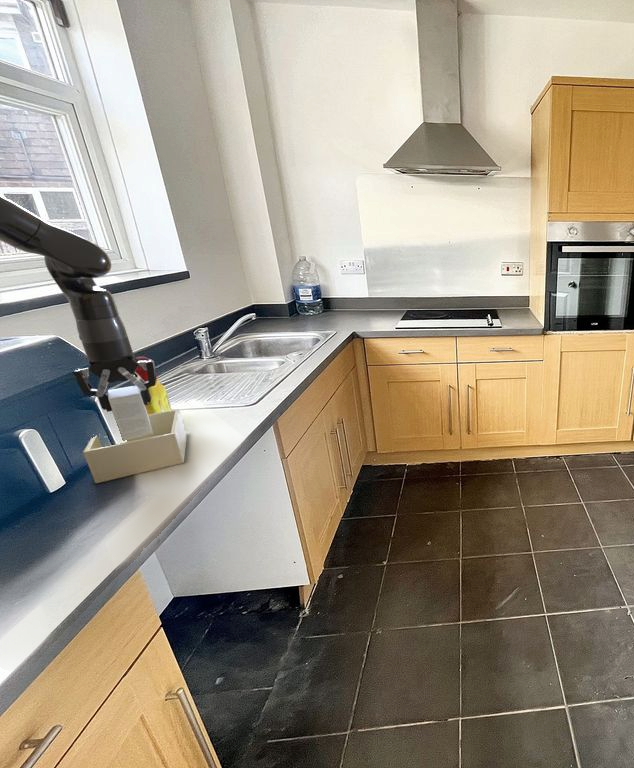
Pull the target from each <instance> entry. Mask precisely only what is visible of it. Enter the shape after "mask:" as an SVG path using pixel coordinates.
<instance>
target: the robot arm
mask: <svg viewBox="0 0 634 768" xmlns="http://www.w3.org/2000/svg"><path fill="white" fill-rule="evenodd" d="M0 241H1V242H3V243H4V244H7V245H8V246H11V247H13V248H15V249H17V250H18V251H19V250H20V251H22V252H25V253H29V254H34V255H39V256H43V257H44V259H43V260H44V265H45V267H46V269H47V271H48V273H49V275H50V276H51V278H52V279H53V281H54V282H55V284H56V285H57V286H58V288H59V289H60V291H61V292H62V293H63V295H64V296H65V297H66V299H67V300H68V302H69V306H70V309H71V312H72V314H73V317H74V320H75V325H76V330H77V334H78V338H79V340H80V342H81V344H82V347H83V349H84V352H85V355H86V357H87V361H88V363H89V364H88V367H85V368H77V369H78V370H76V369H74V370H73V372H72V373H73V374H74V375H75V376H76V378H77V382H78V383H77V382H76V383H77V386H78V387H79V388H80V390H81V392H82V394H83V395H84V396H85V397H96V398H97V399H98V402H99V404H100V407H101V409H102V410H103V411H106V412H107V413H108V412H112V409H111V406H110V403H109V401H108V393H107V389H108V385H109V383H110V384H112V383H116V382H126V381H129V382H130V383H131V384H132V385H134V386H137V387H138V388H139V389H141V390H140V393H141V396H142V399H143V403H144V405H149V402H151V395H150V392H149V388H150V387H152V386H155V384H156V376H157V372H156V365H155V361H154V360H153V359H150V360H148V361H138V360H137V359H136V358H137V357H135V354H134V351H133V348H132V345H131V342H130V339H129V336H128V333H127V330H126V327H125V324H124V322H123V320H122V319H121V316H120V312H119V310H118V307H117V304H116V301H115V298H114V296H113V293H111V291H109V290H107V289H104V288H101V287H100V286H99V285H97V283H96V281H95V280H94V279H97V278H101V277H104V276H106V275H107V274H108V273H110V272H111V269H112V261H111V258H110V256H109V255H108V253H106V251H105V250H104V249H103V248H101V247H100V246H99V245H97V244H95V242H92V241H90V240H88V239H86V238H84V237H82V236H80V235H77V234H75V233H73V232H71V231H69V230H66V229H64V228H61V227H59V226H56V225H53V224H51V223H50V222H47V221H46V220H44V219H42V218H41V217H39V216H37V215H36V214H34V213H32V212H30V211H29V210H27V209H26V208H23V207H22V206H20V205H18V204H17V203H15V202H13V201H12V200H10V199H7V198H6V197H3V196H2V195H0ZM138 366H141V367H142V368H143V369H144V370H147V374H148V381H147V382H145V381H144V380H142V379H141V377H140V376H139V375H138V374H137V373H136V372H135V371H136V369H137V368H138ZM89 373H90V374H92V375H94V376H96V377H97V378H98V379H99V382H98V385H97V386H98V387H97V388H94V387H93V386H92V384H91V382H90V381H89V379H88V378H89V376H90V374H89Z"/></svg>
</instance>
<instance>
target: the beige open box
mask: <svg viewBox="0 0 634 768" xmlns="http://www.w3.org/2000/svg"><path fill="white" fill-rule="evenodd" d="M148 417H149V420H150V424H151V428H152V431H153V434H150V435H146V436H142V437H137V438H133V439H129V440H127V442H125V443H120V444H115V445H110V446H105V447H102V445H101V443H100V440H99V438H98V436H97V435H96V436H95V437H93V438H92V437H91V438H90V440H89V441H88V443H87V445H86V447H85V448H84V450H83V451H82V452H83V456H84V458H85V461H86V463H87V466H88V468H89V471H90V473H91V475H92V478H93V481H94V483H95V484H99V483H104V482H108V481H113V480H116V479H120V478H125V477H129V476H133V475H137V474H142V473H145V472H150V471H154V470H159V469H162V468H166V467H171V466H175V465H179V464H183V463H184V462H185V455H186V448H187V447H186V445H187V439H188V438H187V437H188V434H187V431H186V427H185V423H184V421H183V417H182V414H181V410H180V408H177V409H171V411H166V412H160V413H155V414H149V415H148Z"/></svg>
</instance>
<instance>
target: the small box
mask: <svg viewBox="0 0 634 768" xmlns="http://www.w3.org/2000/svg"><path fill="white" fill-rule="evenodd" d="M107 394H108V401H109V403H110V406H111V409H112V411H111V413H112V414H113V417H114V421H116V423H117V426H118V428H119V431H120V434H121V437H122V440H123V441H125V440H129V439H133V438H137V437H142V436H146V435H150V434H153V431H152V428H151V424H150V420H149V417H148V414H147V411H146V407H145V405H144V403H143V399H142V396H141V393H140V389H139V388H138V387H137V386H136V385H130V386H125V387H117V388H112V389H108V390H107Z"/></svg>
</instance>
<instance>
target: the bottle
mask: <svg viewBox="0 0 634 768" xmlns="http://www.w3.org/2000/svg"><path fill="white" fill-rule="evenodd" d="M135 358H136V359H137V360H138V361H148V360H151V359H150V358H148V357H147V356H137V357H135ZM135 372H136V373H137V374H138V375H139V376H140V377H141V379H142V380H144V381H145V382H147V381H148V374H147V370H144V369H143V368H142V367H141V366H138V368H137V369H136V371H135ZM140 390H141V389H140ZM149 392H150V395H151V402H149V405H145V407H146V411H147V414H148V415H149V414H155V413H160V412H166V411H171V410H172V407H171V406H172V405H171V403H170V399H169V395H168V392H167V389H166V387H165V386H164V385H163V384H162V383H161V382H160V381H159V378H158V376H157V375H156V384H155V386H152V387H150V388H149Z"/></svg>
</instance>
